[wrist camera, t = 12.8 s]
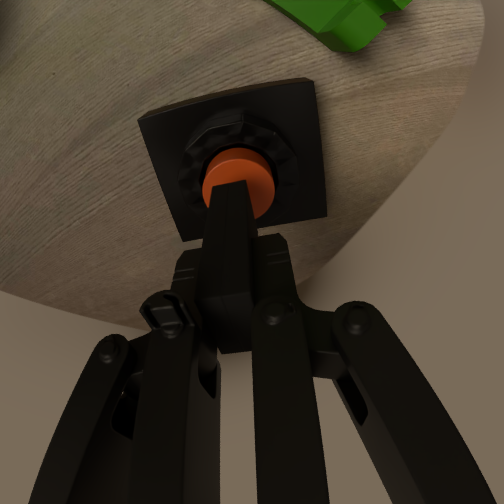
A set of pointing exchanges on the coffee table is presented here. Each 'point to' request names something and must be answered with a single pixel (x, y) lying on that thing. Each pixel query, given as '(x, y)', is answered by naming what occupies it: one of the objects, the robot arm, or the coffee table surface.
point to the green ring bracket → (340, 19)
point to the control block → (240, 136)
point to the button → (242, 176)
